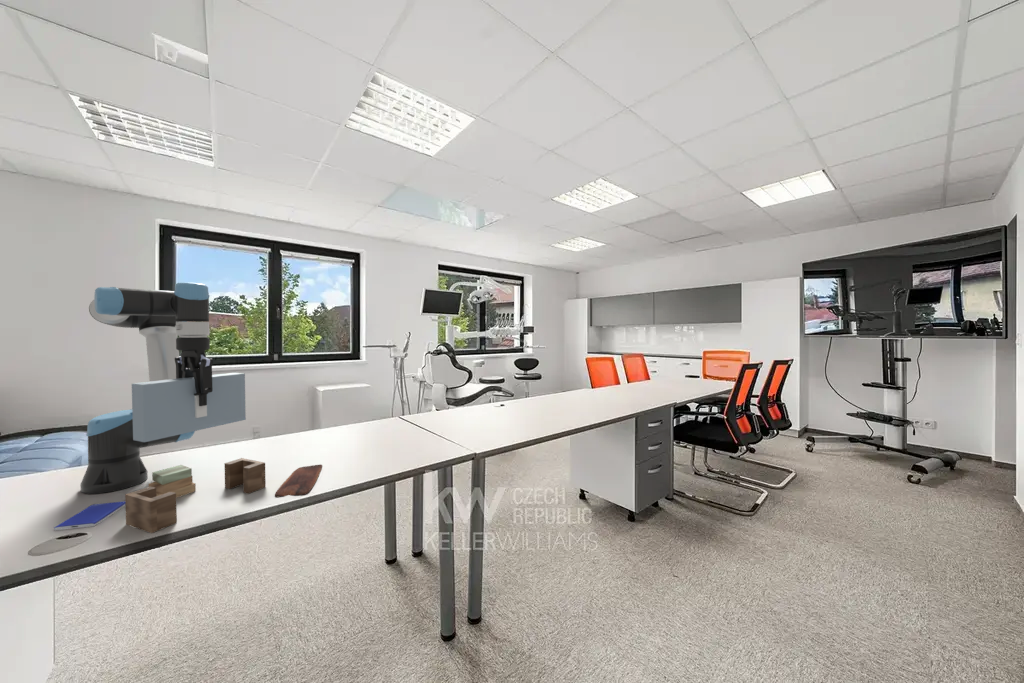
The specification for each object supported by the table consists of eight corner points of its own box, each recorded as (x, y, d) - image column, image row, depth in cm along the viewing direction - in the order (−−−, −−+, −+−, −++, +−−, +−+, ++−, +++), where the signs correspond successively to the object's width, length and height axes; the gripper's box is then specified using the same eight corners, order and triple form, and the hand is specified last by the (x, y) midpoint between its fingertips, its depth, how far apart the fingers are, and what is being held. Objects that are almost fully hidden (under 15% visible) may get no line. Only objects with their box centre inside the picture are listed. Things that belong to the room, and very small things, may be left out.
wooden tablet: (297, 464, 141) (326, 458, 144) (297, 469, 142) (327, 464, 144) (271, 495, 116) (307, 488, 118) (272, 502, 116) (308, 495, 118)
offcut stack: (145, 499, 114) (144, 474, 114) (181, 487, 123) (180, 464, 122) (160, 503, 111) (160, 478, 111) (196, 491, 120) (195, 467, 120)
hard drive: (91, 504, 108) (53, 526, 97) (127, 500, 111) (94, 522, 99) (91, 509, 108) (53, 532, 97) (127, 506, 111) (95, 528, 99)
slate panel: (133, 439, 101) (131, 383, 100) (235, 418, 125) (234, 372, 124) (144, 442, 99) (142, 384, 98) (245, 419, 123) (244, 373, 122)
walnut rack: (126, 524, 100) (125, 494, 99) (242, 481, 128) (241, 458, 127) (151, 533, 96) (150, 501, 95) (265, 487, 124) (265, 462, 123)
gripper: (158, 336, 111) (160, 415, 111) (198, 337, 104) (200, 422, 105) (188, 335, 118) (190, 410, 118) (227, 336, 111) (228, 416, 112)
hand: (194, 415), depth 112 cm, fingers closed on slate panel, 5 cm apart
